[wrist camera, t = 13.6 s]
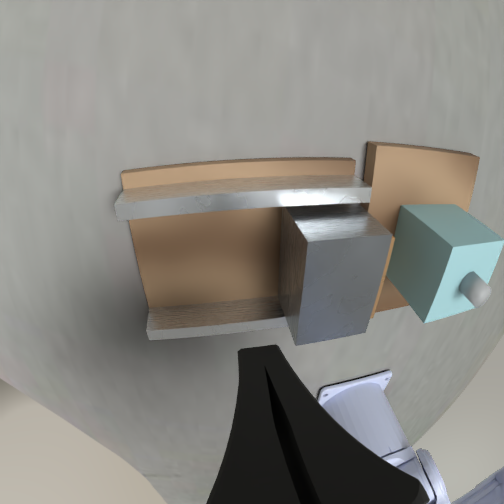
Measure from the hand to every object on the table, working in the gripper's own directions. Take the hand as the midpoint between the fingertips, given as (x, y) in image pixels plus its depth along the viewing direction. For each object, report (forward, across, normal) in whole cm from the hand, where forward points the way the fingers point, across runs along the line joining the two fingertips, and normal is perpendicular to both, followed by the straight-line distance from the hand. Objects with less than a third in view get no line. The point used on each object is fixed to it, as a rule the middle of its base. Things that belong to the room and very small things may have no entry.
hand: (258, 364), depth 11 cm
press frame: (+8, -6, 0) cm, 10 cm away
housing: (+7, -12, 0) cm, 14 cm away
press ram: (+7, -4, 0) cm, 8 cm away
